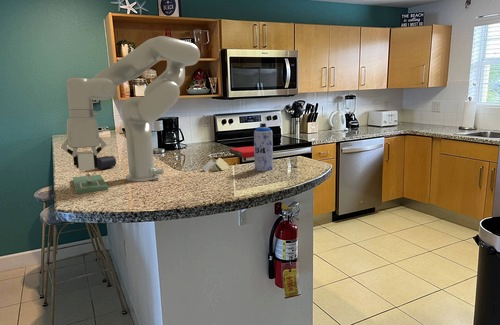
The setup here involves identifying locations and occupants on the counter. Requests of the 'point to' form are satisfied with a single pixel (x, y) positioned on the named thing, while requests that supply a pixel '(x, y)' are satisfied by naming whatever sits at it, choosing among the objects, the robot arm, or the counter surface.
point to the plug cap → (85, 160)
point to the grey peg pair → (89, 179)
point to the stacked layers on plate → (216, 165)
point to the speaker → (105, 162)
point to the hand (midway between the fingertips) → (85, 166)
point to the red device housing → (243, 151)
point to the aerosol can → (263, 148)
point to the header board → (83, 186)
